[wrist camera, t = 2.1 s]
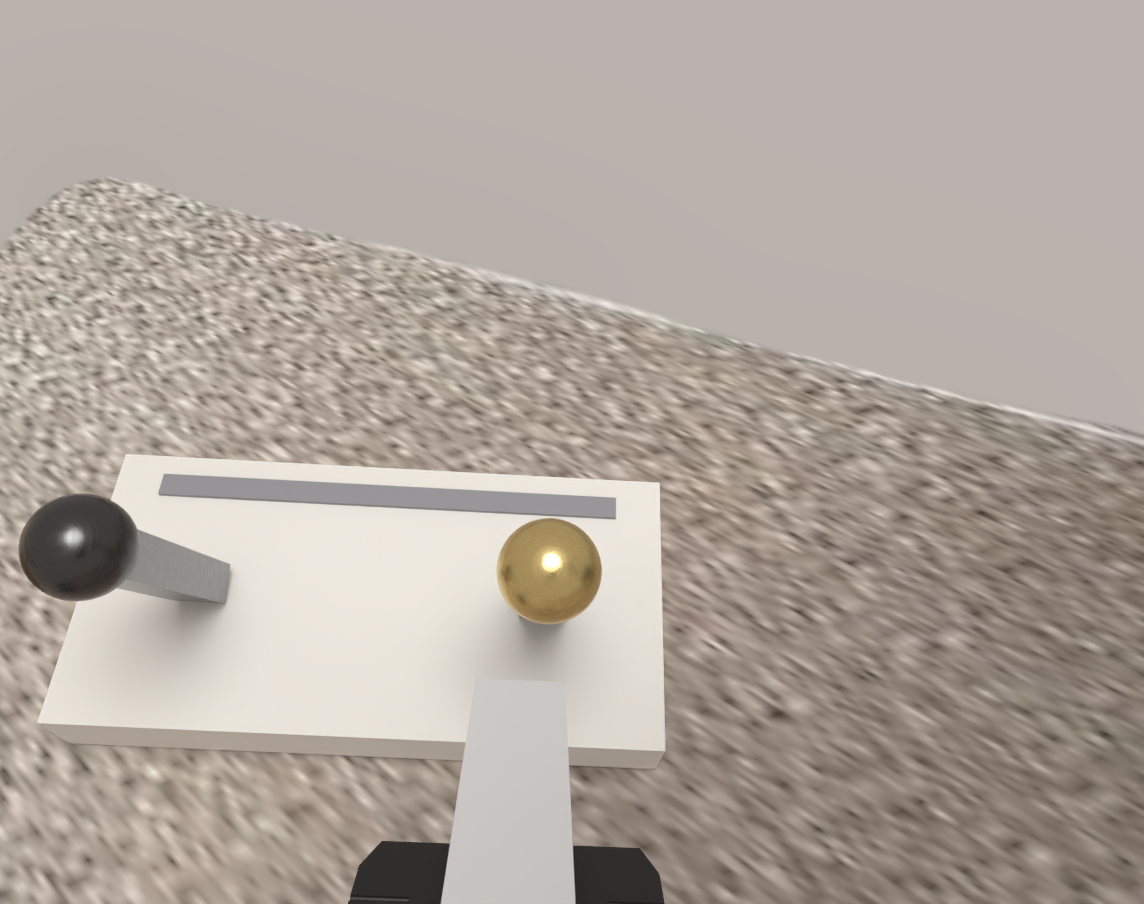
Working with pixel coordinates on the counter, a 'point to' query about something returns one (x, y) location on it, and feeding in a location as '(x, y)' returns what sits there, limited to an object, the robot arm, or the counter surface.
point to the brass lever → (549, 571)
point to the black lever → (111, 555)
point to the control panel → (363, 615)
